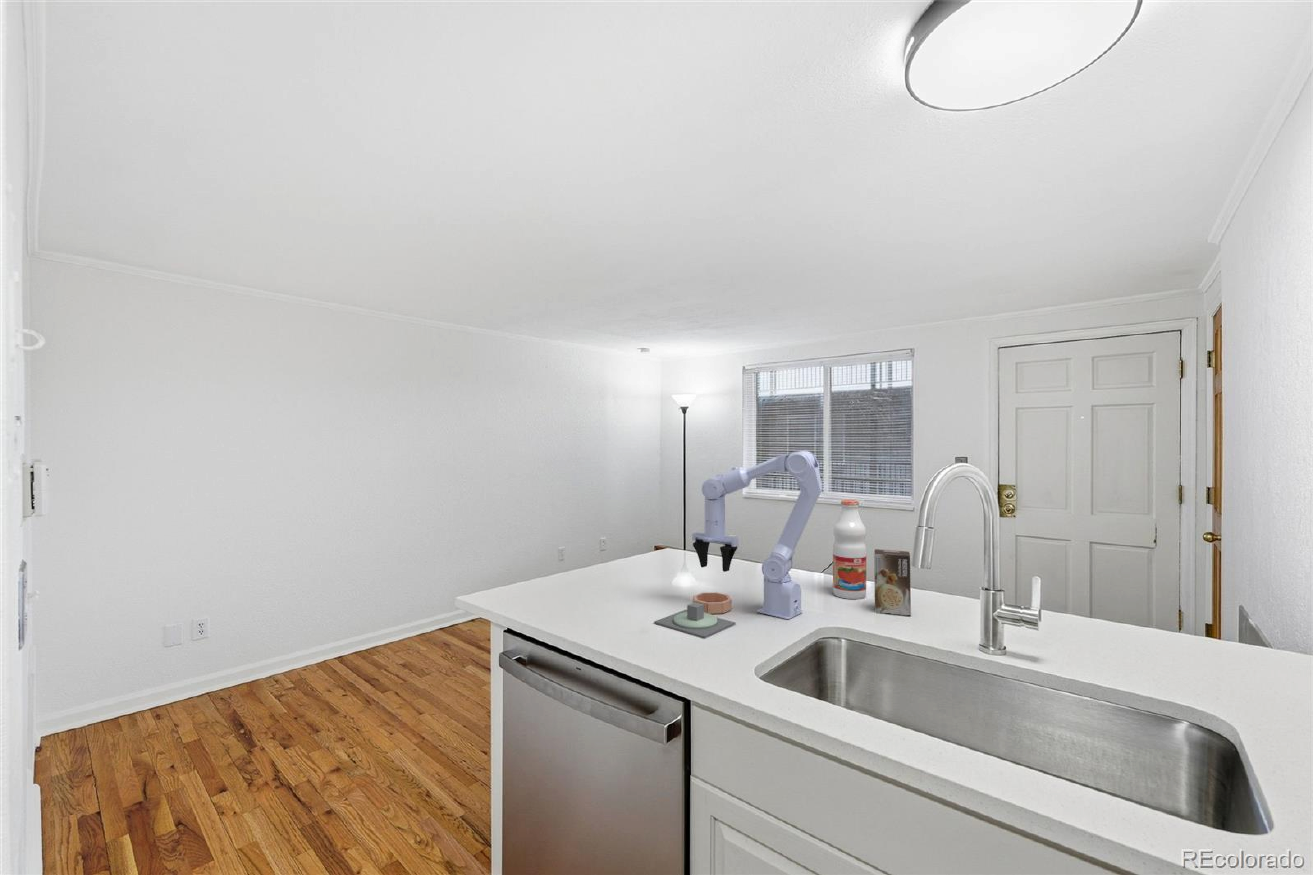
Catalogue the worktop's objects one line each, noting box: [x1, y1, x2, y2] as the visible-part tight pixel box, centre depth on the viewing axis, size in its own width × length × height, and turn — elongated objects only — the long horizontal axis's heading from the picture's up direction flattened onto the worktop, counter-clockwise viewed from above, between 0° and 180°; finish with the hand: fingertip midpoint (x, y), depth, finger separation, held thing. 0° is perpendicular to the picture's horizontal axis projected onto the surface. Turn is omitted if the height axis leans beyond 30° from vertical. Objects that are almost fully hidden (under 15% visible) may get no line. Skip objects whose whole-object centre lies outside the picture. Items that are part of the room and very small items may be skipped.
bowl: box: [692, 591, 733, 615], centre depth 162 cm, size 10×10×3 cm
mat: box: [653, 609, 736, 639], centre depth 149 cm, size 16×13×1 cm
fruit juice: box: [832, 499, 867, 600], centre depth 174 cm, size 9×9×28 cm
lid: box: [674, 602, 718, 629], centre depth 149 cm, size 11×11×4 cm
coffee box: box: [873, 548, 912, 616], centre depth 159 cm, size 9×6×16 cm
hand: (714, 568), depth 166 cm, fingers open, 7 cm apart
